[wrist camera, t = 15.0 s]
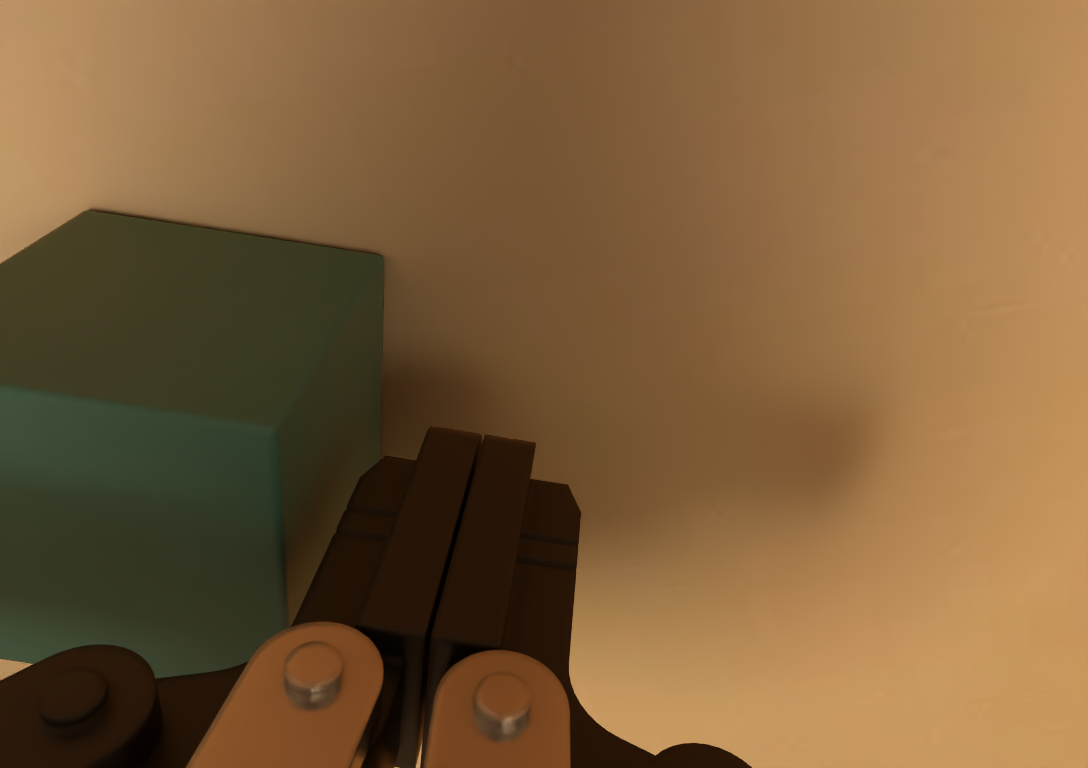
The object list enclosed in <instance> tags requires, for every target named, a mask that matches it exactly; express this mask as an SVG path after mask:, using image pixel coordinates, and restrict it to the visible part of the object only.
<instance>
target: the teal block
mask: <svg viewBox="0 0 1088 768" xmlns="http://www.w3.org/2000/svg"><path fill="white" fill-rule="evenodd" d="M383 308H384V259H383V257H382V256H380V255H376V254H370V253H363V252H357V251H350V250H344V249H337V248H331V247H324V246H317V245H311V244H304V243H298V242H291V241H285V240H278V239H272V238H265V237H259V236H252V235H246V234H239V233H233V232H226V231H220V230H213V229H207V228H200V227H194V226H187V225H181V224H174V223H168V222H161V221H155V220H148V219H142V218H135V217H128V216H122V215H115V214H109V213H102V212H96V211H84V212H82V213H81V214H79V215H77V216H76V217H74V218H73V219H71V220H69V221H68V222H66V223H65V224H63V225H61V226H60V227H58V228H57V229H55V230H53V231H52V232H50V233H49V234H47V235H45V236H44V237H42V238H41V239H39V240H37V241H36V242H34V243H33V244H31V245H29V246H28V247H26V248H25V249H23V250H21V251H20V252H18V253H17V254H15V255H13V256H12V257H10V258H9V259H7V260H5V261H4V262H2V263H1V264H0V659H6V660H12V661H19V662H25V663H31V664H35V663H37V662H39V661H41V660H43V659H45V658H47V657H50V656H52V655H54V654H56V653H59V652H62V651H65V650H68V649H71V648H75V647H80V646H85V645H96V644H105V645H115V646H120V647H124V648H127V649H129V650H132V651H134V652H136V653H137V654H139V655H140V656H142V657H143V658H144V659H145V660H146V661H147V662H148V663H149V665H150V667H151V668H152V670H153V672H154V676H155V678H164V677H172V676H180V675H188V674H196V673H205V672H212V671H218V670H223V669H227V668H231V667H234V666H238V665H240V664H243V663H245V662H247V661H249V660H250V659H251V657H252V656H253V654H254V653H255V652H256V650H257V649H258V648H259V647H260V646H261V645H262V644H263V643H264V642H266V641H267V640H268V639H270V638H271V637H272V636H274V635H276V634H278V633H279V632H281V631H283V630H285V629H288V628H290V627H291V625H292V623H293V621H294V620H295V617H296V615H297V613H298V611H299V609H300V607H301V604H302V602H303V600H304V598H305V596H306V593H307V591H308V589H309V587H310V585H311V583H312V580H313V578H314V576H315V574H316V572H317V569H318V567H319V565H320V563H321V561H322V559H323V556H324V554H325V552H326V550H327V548H328V545H329V543H330V541H331V539H332V537H333V535H334V533H336V530H337V526H338V524H339V521H340V519H341V517H342V515H343V513H344V511H345V510H346V509H347V504H348V502H349V500H350V497H351V495H352V493H353V491H354V489H355V486H356V484H357V482H358V480H359V478H360V477H361V476H362V475H363V474H364V473H365V472H367V471H368V470H369V469H370V468H372V467H373V466H374V465H375V464H376V463H378V462H379V461H380V444H381V398H382V353H383Z"/></svg>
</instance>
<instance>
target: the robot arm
mask: <svg viewBox="0 0 1088 768" xmlns="http://www.w3.org/2000/svg"><path fill="white" fill-rule="evenodd" d="M535 447H536V443H535V442H529V441H523V440H517V439H510V438H504V437H498V436H491V435H485V436H484V439H483V442H482V434H477V433H471V432H465V431H459V430H452V429H446V428H440V427H434V426H430V427H429V428H428V431H427V433H426V436H425V438H424V441H423V444H422V446H421V449H420V452H419V454H418V457H417V460H416V461H415V460H408V459H402V458H396V457H390V456H385V457H384V458H382V459H381V460H380V461H379V462H378V463H376V464H375V465H374V466H373V467H372V468H370V469H369V470H368V471H367V472H365V473H364V474H363V475H362V476H361V477H360V478H359V480H358V482H357V484H356V486H355V489H354V491H353V493H352V495H351V497H350V500H349V502H348V504H347V509H346V510H345V511H344V513H343V515H342V517H341V519H340V521H339V524H338V526H337V530H336V533H334V535H333V537H332V539H331V541H330V543H329V545H328V548H327V550H326V552H325V554H324V556H323V559H322V561H321V563H320V565H319V567H318V569H317V572H316V574H315V576H314V578H313V580H312V583H311V585H310V587H309V589H308V591H307V593H306V596H305V598H304V600H303V602H302V604H301V607H300V609H299V611H298V613H297V615H296V617H295V620H294V621H293V623H292V625H291V627H290V628H288V629H285V630H283V631H281V632H279V633H278V634H276V635H274V636H272V637H271V638H270V639H268V640H267V641H266V642H264V643H263V644H262V645H261V646H260V647H259V648H258V649H257V650H256V652H255V653H254V654H253V656H252V657H251V659H250V660H249V661H247V662H245V663H243V664H240V665H238V666H234V667H231V668H227V669H223V670H218V671H212V672H205V673H196V674H188V675H180V676H172V677H164V678H155V676H154V672H153V670H152V668H151V667H150V665H149V663H148V662H147V661H146V660H145V659H144V658H143V657H142V656H140V655H139V654H137V653H136V652H134V651H132V650H129V649H127V648H124V647H120V646H115V645H105V644H96V645H85V646H80V647H75V648H71V649H68V650H65V651H62V652H59V653H56V654H54V655H52V656H50V657H47V658H45V659H43V660H41V661H39V662H37V663H35V664H33V665H31V666H29V667H27V668H25V669H23V670H21V671H19V672H17V673H15V674H13V675H11V676H9V677H7V678H5V679H3V680H1V681H0V768H394V767H399V768H416V764H417V760H418V756H419V751H420V747H421V743H422V753H421V765H420V768H752V767H751V766H749V765H748V764H747V763H746V762H744V761H743V760H742V759H740V758H738V757H737V756H735V755H733V754H732V753H730V752H728V751H725V750H723V749H721V748H718V747H714V746H711V745H707V744H699V743H685V744H679V745H675V746H672V747H669V748H667V749H665V750H663V751H661V752H660V753H658V754H657V755H656V756H655V755H653V754H651V753H649V752H647V751H645V750H643V749H641V748H639V747H637V746H635V745H633V744H631V743H629V742H627V741H625V740H623V739H621V738H619V737H617V736H615V735H614V734H612V733H610V732H608V731H607V730H606V729H604V728H603V727H602V726H600V725H599V724H598V723H597V722H596V721H595V720H594V719H593V718H592V717H591V716H589V715H588V713H587V712H586V711H585V709H584V708H583V707H582V706H581V704H580V702H579V701H578V699H577V697H576V695H575V693H574V690H573V688H572V685H571V681H570V676H569V655H570V642H571V630H572V618H573V605H574V593H575V580H576V567H577V556H578V542H579V531H580V519H581V511H580V509H579V507H578V505H577V503H576V501H575V499H574V497H573V494H572V492H571V490H570V488H569V486H568V485H566V484H560V483H554V482H547V481H541V480H535V479H531V473H532V466H533V460H534V453H535ZM422 739H423V740H422Z"/></svg>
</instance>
